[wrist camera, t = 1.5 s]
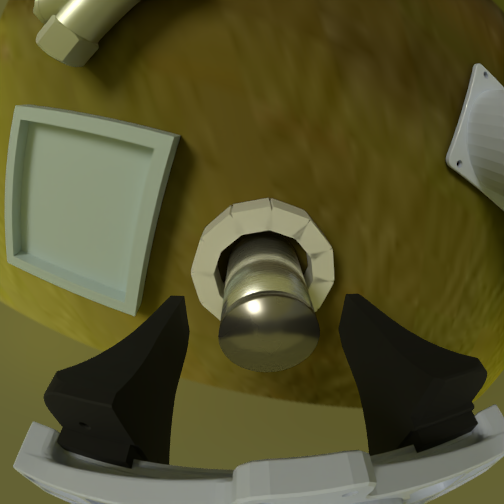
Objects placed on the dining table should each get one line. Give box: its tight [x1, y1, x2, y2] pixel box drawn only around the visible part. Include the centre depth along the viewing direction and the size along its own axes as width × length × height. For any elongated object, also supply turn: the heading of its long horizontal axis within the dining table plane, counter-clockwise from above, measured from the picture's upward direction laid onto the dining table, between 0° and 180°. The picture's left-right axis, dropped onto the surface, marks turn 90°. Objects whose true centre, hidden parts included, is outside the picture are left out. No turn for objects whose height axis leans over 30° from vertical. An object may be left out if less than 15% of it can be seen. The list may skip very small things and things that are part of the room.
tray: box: [5, 105, 181, 316], centre depth 14 cm, size 11×11×1 cm
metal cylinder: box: [219, 231, 320, 372], centre depth 14 cm, size 4×4×6 cm
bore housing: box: [191, 198, 334, 320], centre depth 16 cm, size 8×8×2 cm
